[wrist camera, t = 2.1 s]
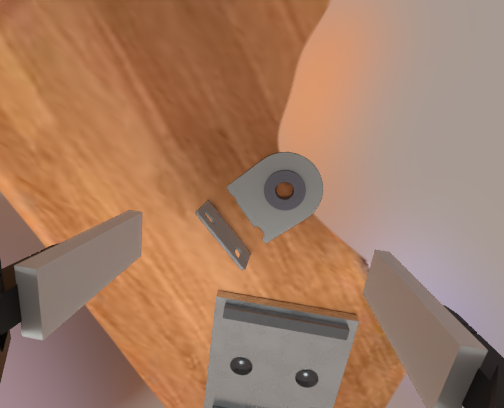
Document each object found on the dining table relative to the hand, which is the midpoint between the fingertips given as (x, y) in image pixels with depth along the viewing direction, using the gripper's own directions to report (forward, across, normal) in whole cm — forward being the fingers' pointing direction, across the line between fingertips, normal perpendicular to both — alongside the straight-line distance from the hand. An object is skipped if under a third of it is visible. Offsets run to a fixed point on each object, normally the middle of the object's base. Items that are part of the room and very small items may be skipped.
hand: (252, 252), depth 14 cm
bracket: (+10, 0, +1) cm, 10 cm away
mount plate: (+10, +4, -17) cm, 20 cm away
